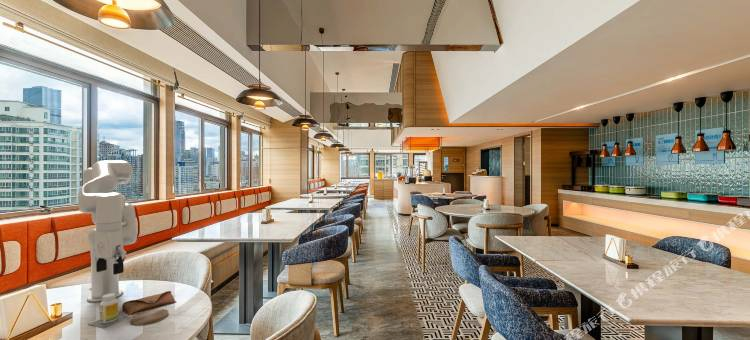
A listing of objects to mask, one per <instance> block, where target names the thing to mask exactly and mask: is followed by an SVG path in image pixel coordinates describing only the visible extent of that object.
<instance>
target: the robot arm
mask: <svg viewBox="0 0 750 340" xmlns="http://www.w3.org/2000/svg"><path fill="white" fill-rule="evenodd" d="M133 173H134V169H133V165H132V164H131V163H130V162H129V161H126V160H99V161H96V162H95V163H94V164H92V166H91V167H87V168H86V169H85V170H83V172H82V180H83V185H82V186H81V187H80V188H79V191H78V195H77V206H78V209H79V211H80V212H81V213H82V214H91V221H92V223H93V224H94V225H95V228H93V229H91V230H90V231H89V232H88V233H87V241H88V246H89V252H90V273H91V275H90V276H91V277H90V278H91V279H90V281H91V283H90V284H91V287H89V290H88V291H90V292H91V294H89V295H88V296H87V297H86V301H87V302H92V303H93V302H97V303H98V302H102V301H103V300H102V296H103V295H106V294H110V293H116V298H119V297H120V296H122V295H123V294H124V290H123V289H122V288H120V287H119V278H120V277H119V274H123V273H124V270H125V269H124V263H125V260H126V255H127V251H126V250H125V249H124V246H128V245H132V244H135V243H136V242H137V238H138V229H137V219H136V209H135V207H134V206H133V204H131V203H127V199H126V197H125V196H124V195H123V193H121V192H113V191H114V190H115V189H116V188H117V187H118V185H127V184H129V183H130V181H131V179H132V178H133Z"/></svg>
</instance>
